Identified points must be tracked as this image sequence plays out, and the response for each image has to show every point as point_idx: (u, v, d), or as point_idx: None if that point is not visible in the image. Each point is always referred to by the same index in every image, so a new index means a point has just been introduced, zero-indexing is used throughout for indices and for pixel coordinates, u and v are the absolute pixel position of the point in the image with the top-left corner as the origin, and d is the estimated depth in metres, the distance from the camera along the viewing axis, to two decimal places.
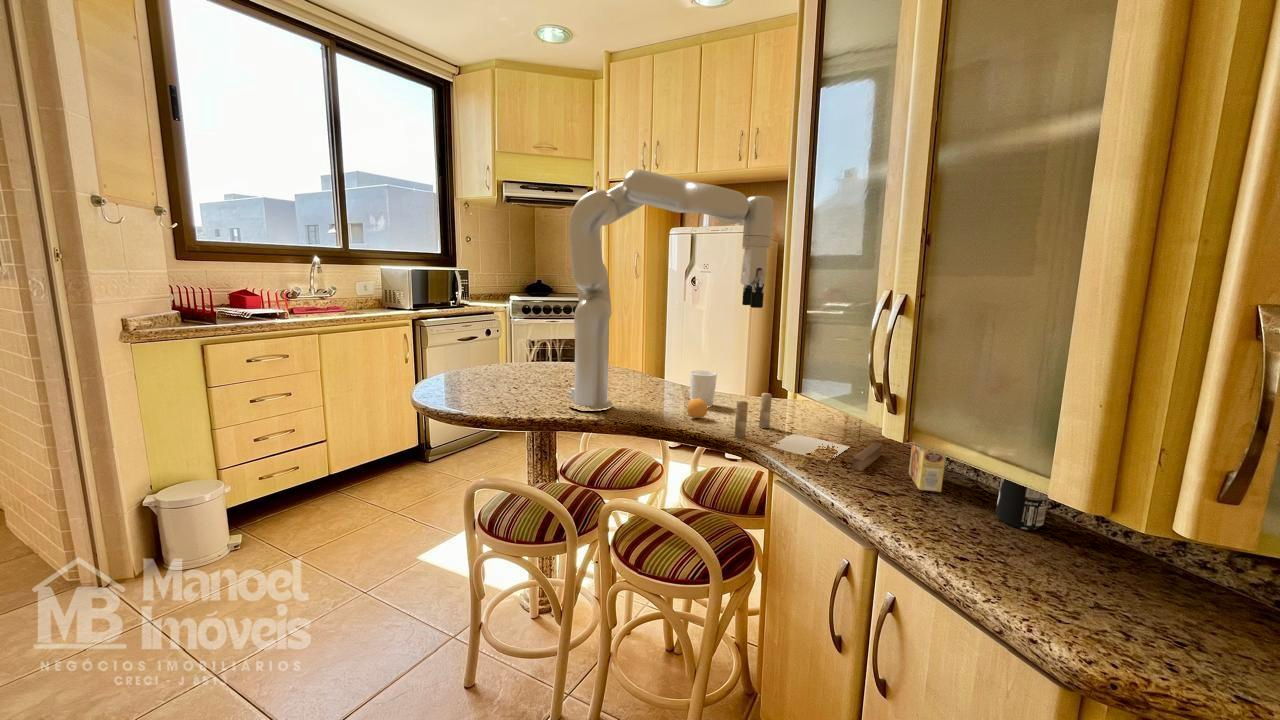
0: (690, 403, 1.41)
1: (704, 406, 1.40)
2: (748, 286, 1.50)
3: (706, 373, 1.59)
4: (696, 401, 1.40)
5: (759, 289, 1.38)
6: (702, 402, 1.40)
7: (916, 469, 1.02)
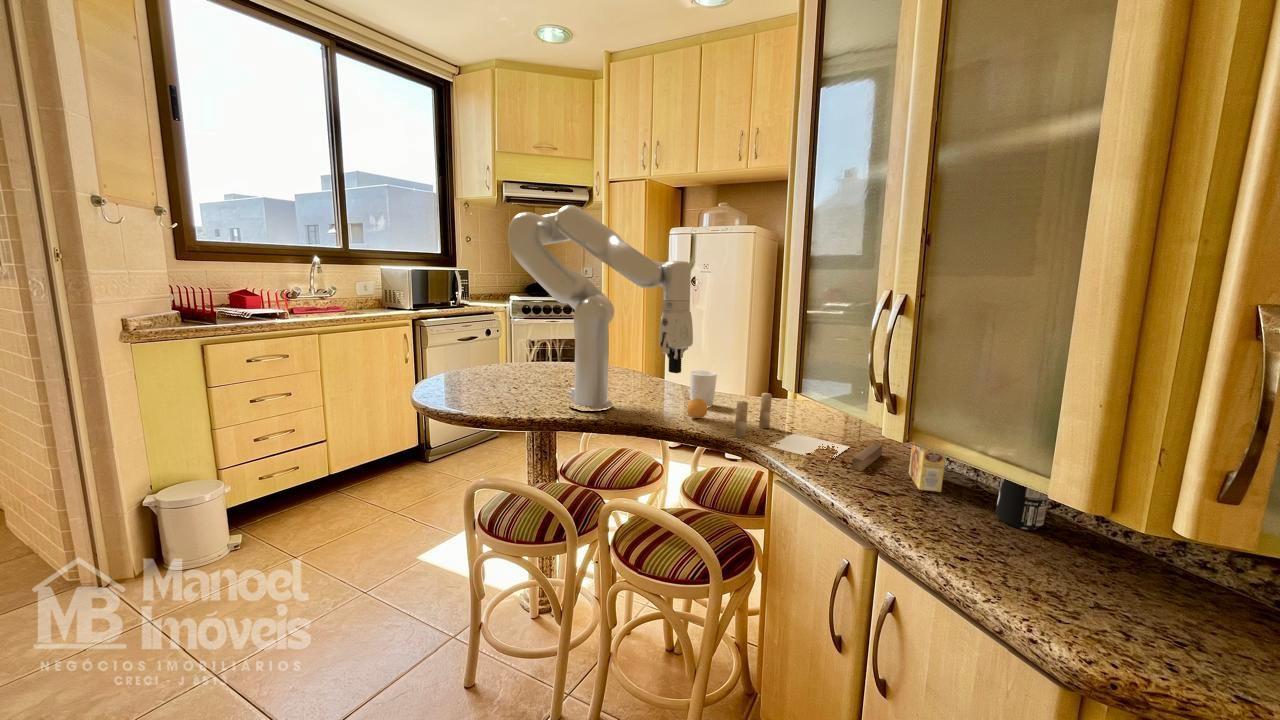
0: (690, 403, 1.41)
1: (704, 406, 1.40)
2: None
3: (706, 373, 1.59)
4: (696, 401, 1.40)
5: None
6: (702, 402, 1.40)
7: (916, 469, 1.02)
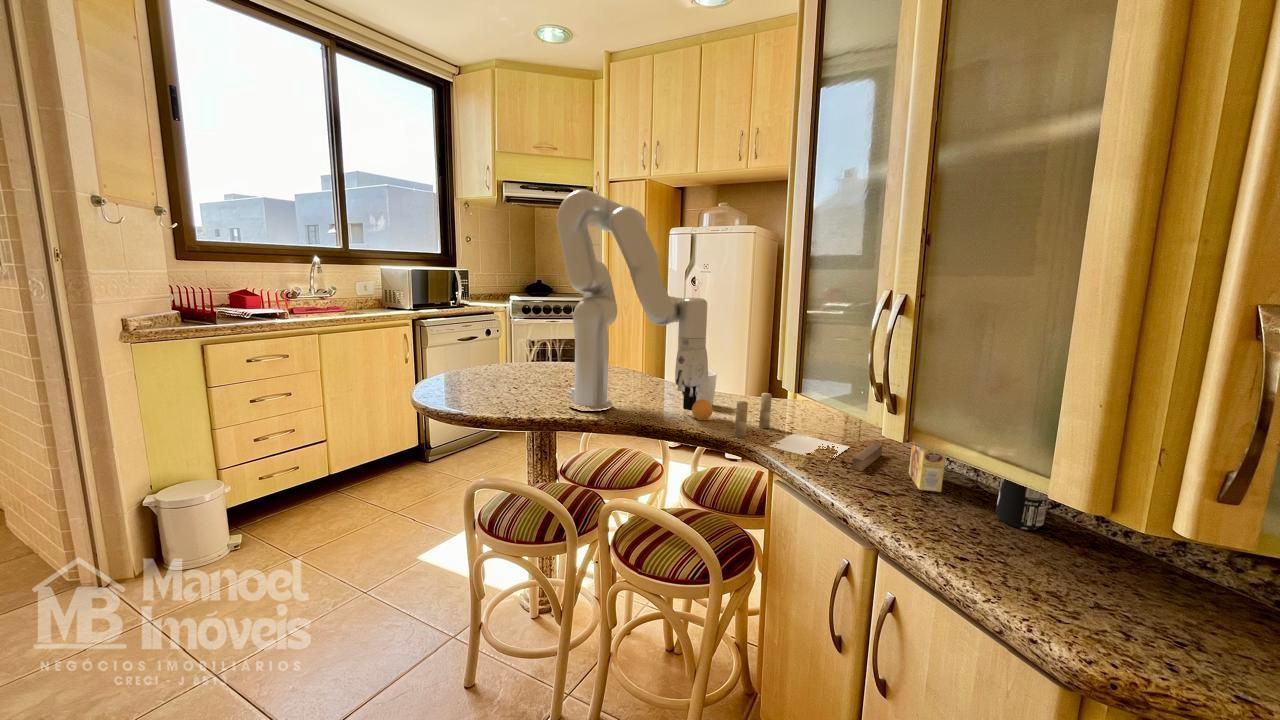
0: (697, 404, 1.39)
1: (710, 410, 1.39)
2: None
3: None
4: (704, 404, 1.39)
5: None
6: (709, 406, 1.39)
7: (916, 469, 1.02)
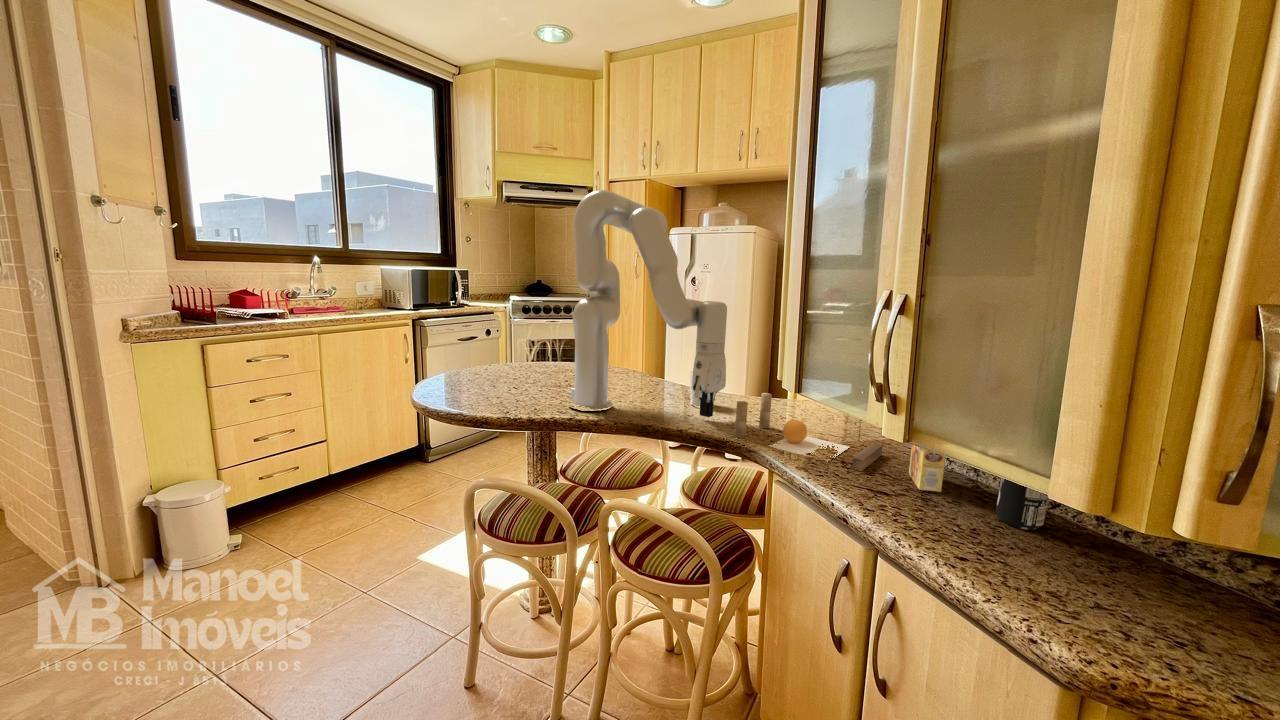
0: (792, 441, 1.23)
1: None
2: None
3: None
4: (787, 439, 1.25)
5: None
6: None
7: (916, 469, 1.02)
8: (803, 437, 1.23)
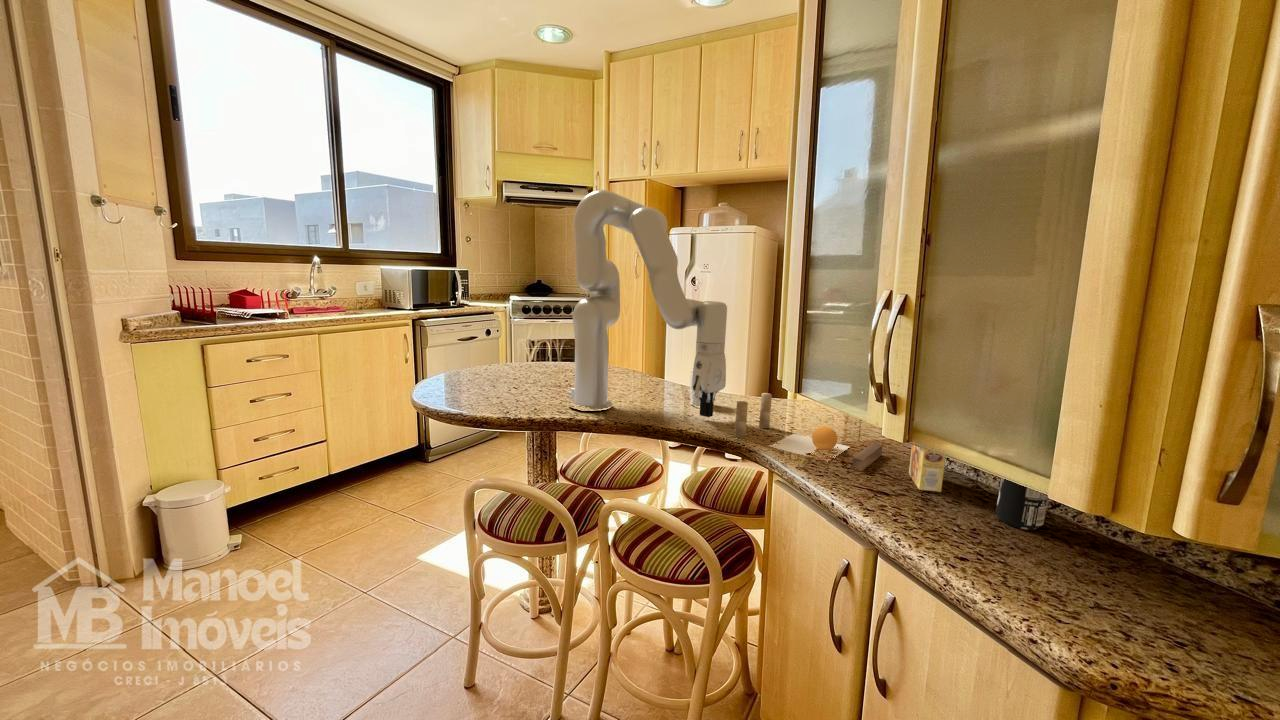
0: (815, 433, 1.20)
1: (833, 432, 1.19)
2: None
3: None
4: (822, 429, 1.19)
5: None
6: (829, 428, 1.19)
7: (916, 469, 1.02)
8: (812, 439, 1.21)
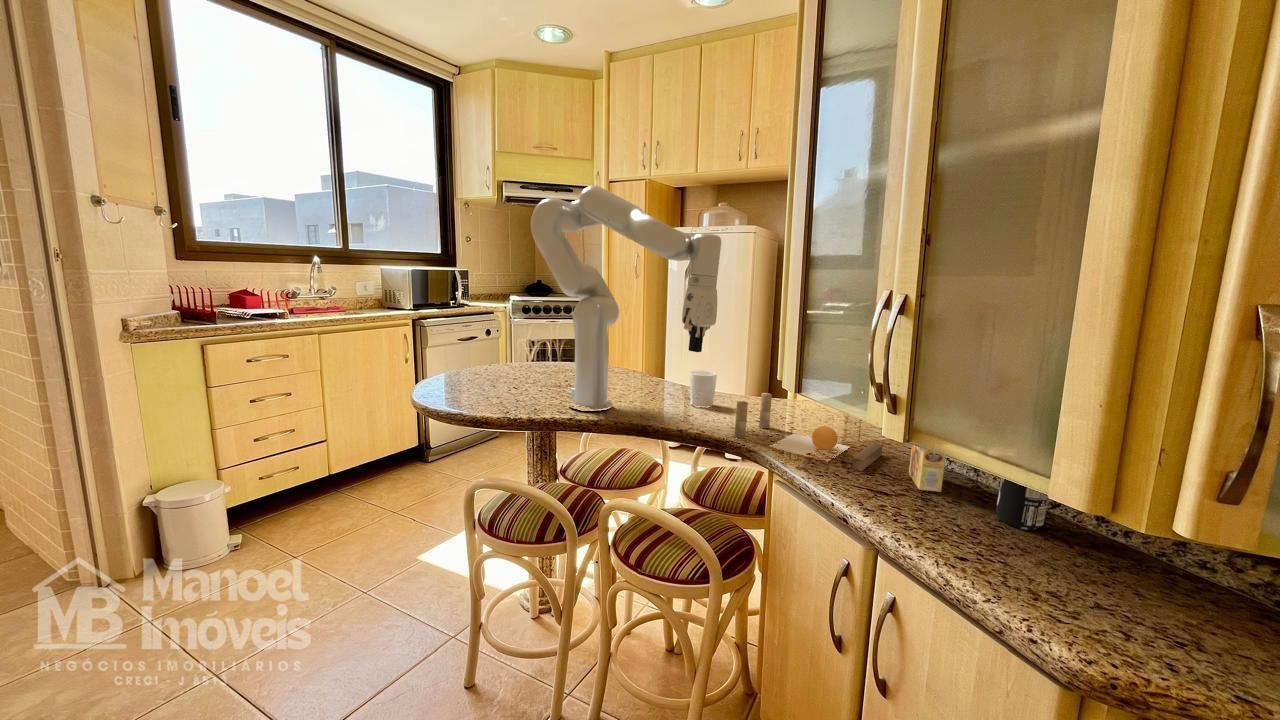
0: (815, 433, 1.20)
1: (833, 432, 1.19)
2: (695, 326, 1.38)
3: (706, 373, 1.59)
4: (822, 429, 1.19)
5: None
6: (829, 428, 1.19)
7: (916, 469, 1.02)
8: (812, 439, 1.21)
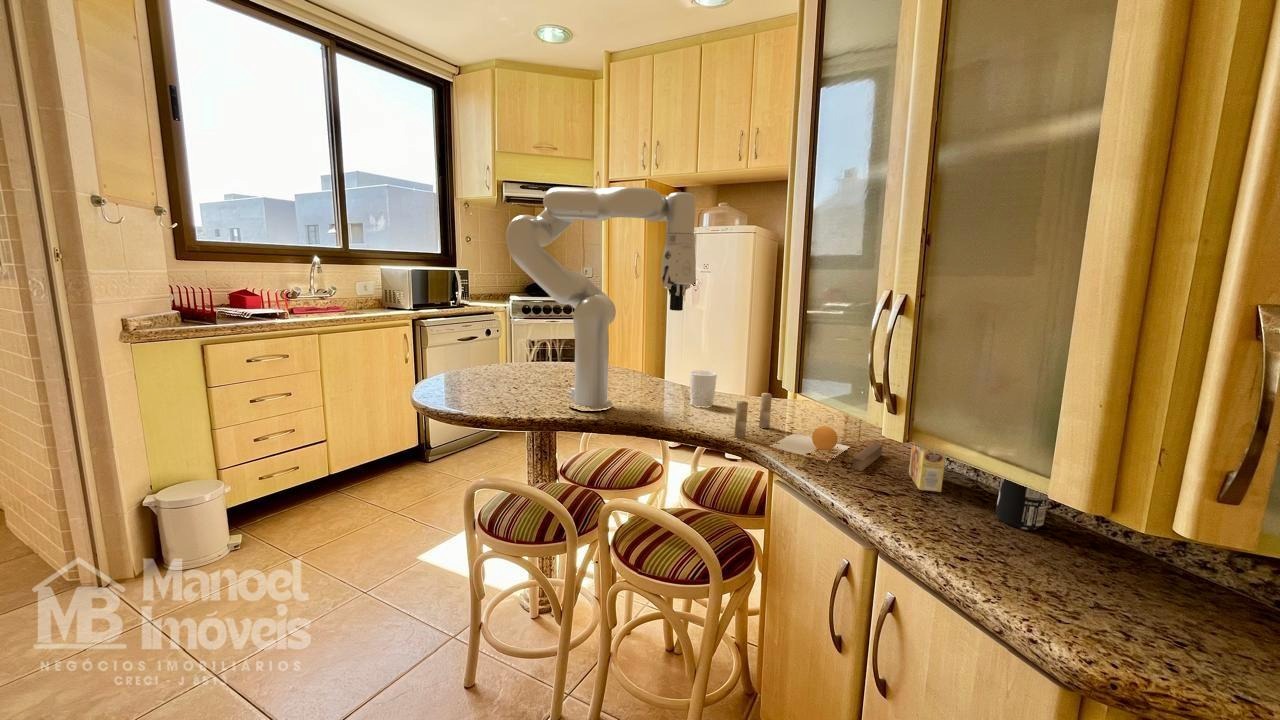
0: (815, 433, 1.20)
1: (833, 432, 1.19)
2: None
3: (706, 373, 1.59)
4: (822, 429, 1.19)
5: None
6: (829, 428, 1.19)
7: (916, 469, 1.02)
8: (812, 439, 1.21)
